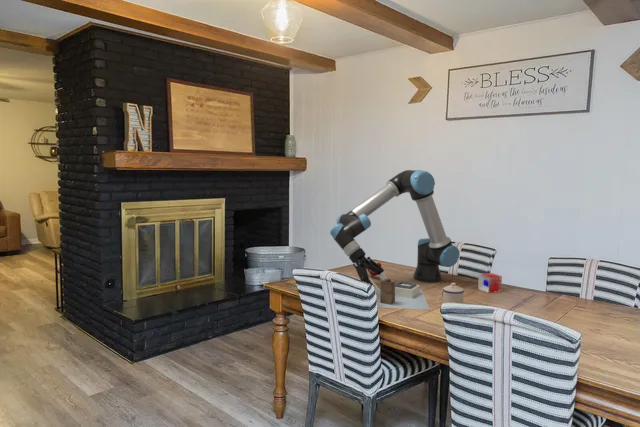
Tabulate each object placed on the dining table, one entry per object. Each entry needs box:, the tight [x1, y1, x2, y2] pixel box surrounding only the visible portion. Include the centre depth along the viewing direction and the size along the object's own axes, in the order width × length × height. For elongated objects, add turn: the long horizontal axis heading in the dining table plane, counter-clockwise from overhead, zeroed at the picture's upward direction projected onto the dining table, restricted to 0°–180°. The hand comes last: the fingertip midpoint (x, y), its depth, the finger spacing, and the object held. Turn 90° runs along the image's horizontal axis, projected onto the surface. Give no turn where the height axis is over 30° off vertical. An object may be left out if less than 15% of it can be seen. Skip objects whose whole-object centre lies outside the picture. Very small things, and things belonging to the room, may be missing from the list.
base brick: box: [395, 280, 421, 299], centre depth 229 cm, size 11×11×5 cm
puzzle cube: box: [477, 272, 503, 293], centre depth 240 cm, size 8×8×8 cm
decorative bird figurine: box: [367, 262, 382, 280], centre depth 264 cm, size 3×18×10 cm, turn 30°
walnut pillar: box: [380, 278, 396, 305], centre depth 215 cm, size 5×5×11 cm
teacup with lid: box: [441, 282, 465, 304], centre depth 210 cm, size 12×9×12 cm
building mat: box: [376, 287, 430, 312], centre depth 222 cm, size 24×32×1 cm
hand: (383, 288), depth 215 cm, fingers open, 13 cm apart
